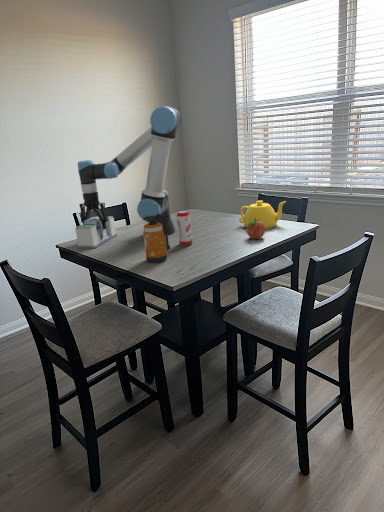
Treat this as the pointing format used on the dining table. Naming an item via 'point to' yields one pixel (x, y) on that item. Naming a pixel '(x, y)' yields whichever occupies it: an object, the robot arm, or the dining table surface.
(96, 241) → the white u-shaped holder
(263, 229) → the fruit
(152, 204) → the robot arm
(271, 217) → the teapot
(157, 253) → the canister
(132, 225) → the dining table surface
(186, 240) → the beer can
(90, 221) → the light bulb box
